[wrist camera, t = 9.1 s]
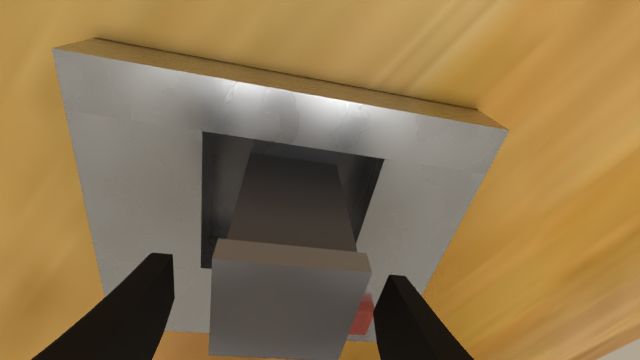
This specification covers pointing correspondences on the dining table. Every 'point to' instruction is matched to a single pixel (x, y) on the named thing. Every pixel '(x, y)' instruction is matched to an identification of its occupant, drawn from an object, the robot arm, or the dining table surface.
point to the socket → (261, 138)
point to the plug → (286, 265)
